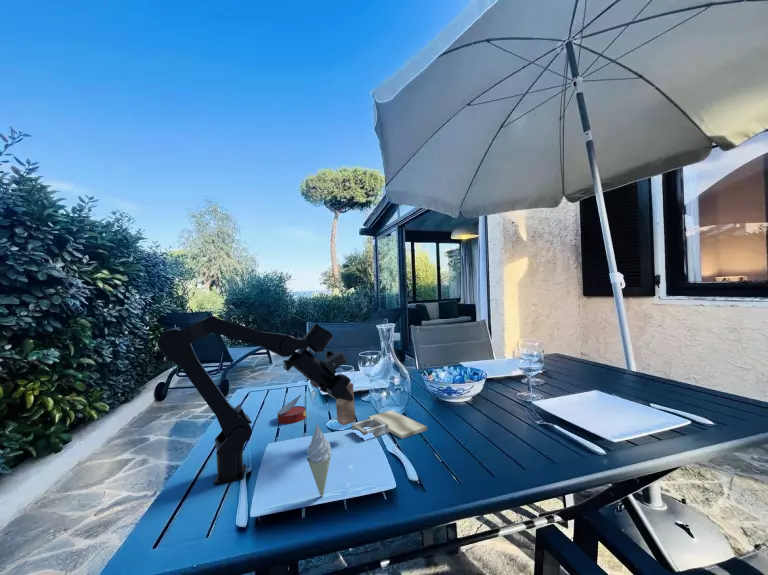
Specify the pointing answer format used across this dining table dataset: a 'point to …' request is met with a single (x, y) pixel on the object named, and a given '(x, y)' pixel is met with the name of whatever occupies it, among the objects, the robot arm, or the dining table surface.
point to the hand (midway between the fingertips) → (349, 397)
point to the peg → (346, 408)
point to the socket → (389, 425)
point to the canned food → (291, 413)
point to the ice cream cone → (319, 458)
